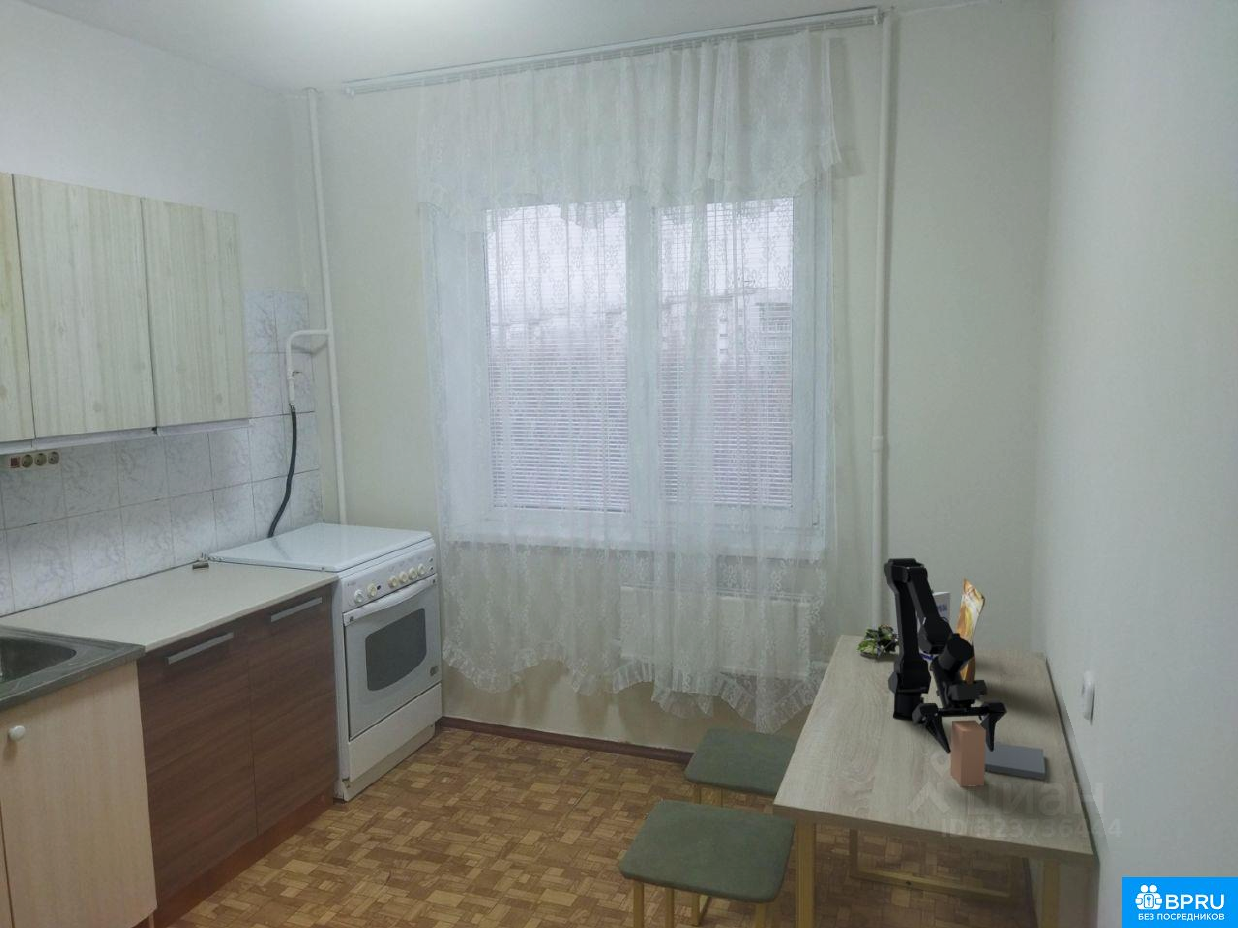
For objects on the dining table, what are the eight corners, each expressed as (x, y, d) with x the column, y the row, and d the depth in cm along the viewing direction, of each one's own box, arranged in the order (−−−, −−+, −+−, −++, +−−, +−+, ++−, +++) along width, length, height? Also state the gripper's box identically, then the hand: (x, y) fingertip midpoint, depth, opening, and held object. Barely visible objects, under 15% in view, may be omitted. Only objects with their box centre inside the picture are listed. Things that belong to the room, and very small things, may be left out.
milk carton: (931, 660, 253) (933, 594, 251) (914, 654, 259) (915, 589, 257) (949, 656, 257) (950, 591, 254) (931, 650, 263) (933, 586, 260)
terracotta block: (950, 774, 184) (951, 721, 183) (973, 773, 185) (974, 720, 183) (960, 786, 179) (962, 731, 178) (984, 785, 180) (985, 730, 178)
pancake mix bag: (972, 674, 242) (975, 576, 239) (982, 700, 224) (986, 595, 221) (946, 672, 244) (949, 575, 241) (955, 698, 226) (958, 593, 222)
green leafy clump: (886, 670, 262) (911, 641, 258) (877, 674, 252) (903, 644, 249) (857, 644, 267) (881, 615, 264) (847, 647, 257) (872, 617, 254)
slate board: (983, 769, 186) (983, 763, 186) (984, 746, 197) (984, 740, 197) (1044, 780, 181) (1045, 773, 181) (1042, 755, 192) (1043, 749, 192)
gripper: (918, 667, 183) (939, 739, 173) (1004, 664, 184) (1029, 735, 174) (903, 689, 192) (922, 758, 182) (985, 686, 192) (1008, 755, 183)
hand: (970, 751), depth 180 cm, fingers open, 9 cm apart
